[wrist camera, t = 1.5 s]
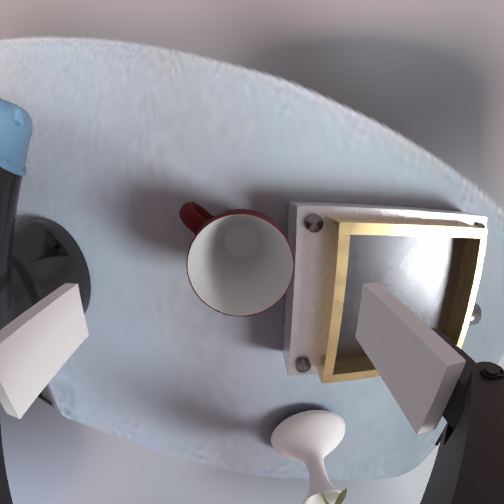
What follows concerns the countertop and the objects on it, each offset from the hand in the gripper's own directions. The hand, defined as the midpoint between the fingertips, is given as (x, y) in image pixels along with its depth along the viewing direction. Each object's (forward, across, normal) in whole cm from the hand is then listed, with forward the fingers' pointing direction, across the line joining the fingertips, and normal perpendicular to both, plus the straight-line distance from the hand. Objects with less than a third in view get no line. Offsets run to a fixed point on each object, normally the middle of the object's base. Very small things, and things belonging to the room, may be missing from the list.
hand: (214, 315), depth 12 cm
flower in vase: (+20, +11, -29) cm, 37 cm away
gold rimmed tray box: (+19, +20, -6) cm, 28 cm away
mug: (+20, 0, 0) cm, 20 cm away
